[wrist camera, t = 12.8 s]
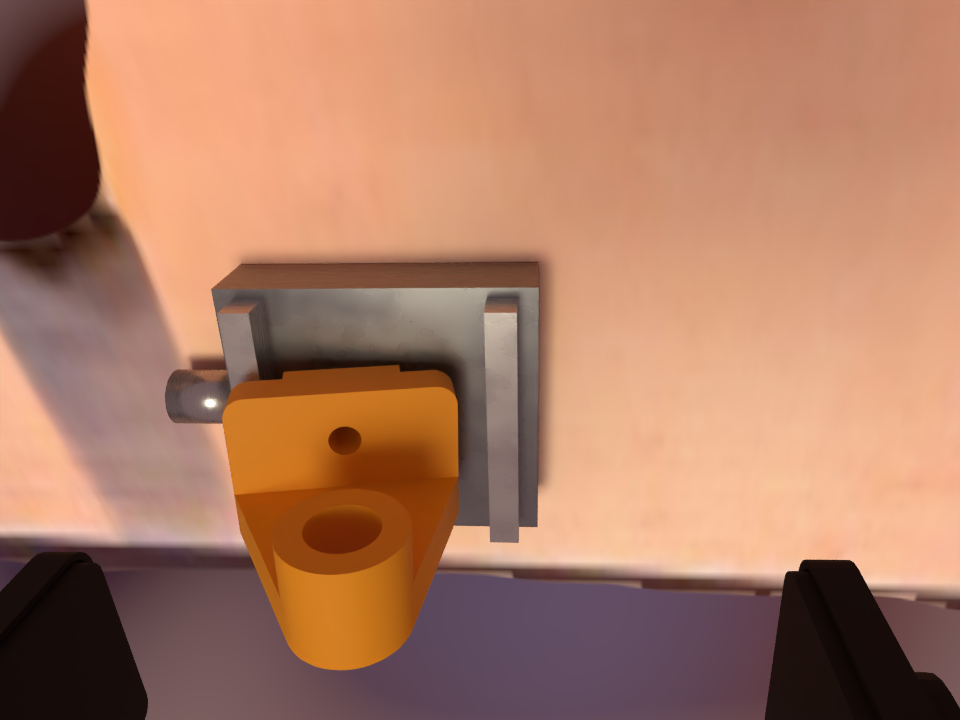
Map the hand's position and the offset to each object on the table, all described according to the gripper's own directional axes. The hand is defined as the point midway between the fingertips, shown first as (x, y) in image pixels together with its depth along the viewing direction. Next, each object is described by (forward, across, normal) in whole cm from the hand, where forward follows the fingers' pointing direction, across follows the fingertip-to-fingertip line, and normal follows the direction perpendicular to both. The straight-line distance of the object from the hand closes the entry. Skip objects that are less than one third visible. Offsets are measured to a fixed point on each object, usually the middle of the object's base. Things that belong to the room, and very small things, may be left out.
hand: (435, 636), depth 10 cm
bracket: (+24, +9, +11) cm, 28 cm away
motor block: (+29, +10, +11) cm, 33 cm away
